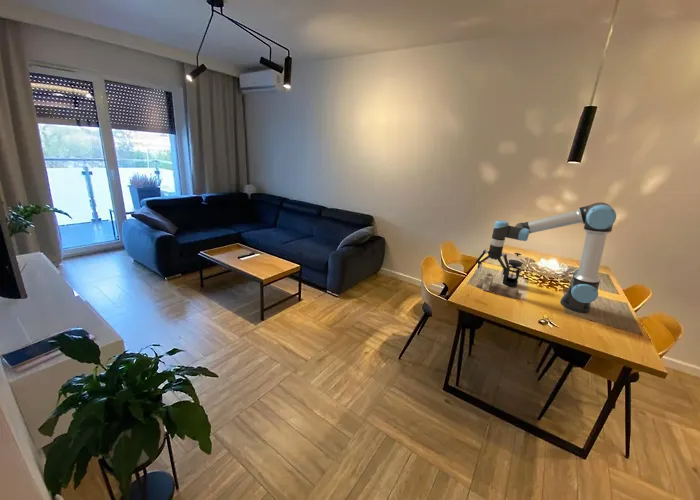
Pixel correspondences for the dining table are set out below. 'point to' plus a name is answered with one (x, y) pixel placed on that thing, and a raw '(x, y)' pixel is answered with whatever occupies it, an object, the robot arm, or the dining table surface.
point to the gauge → (487, 281)
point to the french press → (511, 278)
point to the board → (500, 289)
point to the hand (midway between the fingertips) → (489, 275)
